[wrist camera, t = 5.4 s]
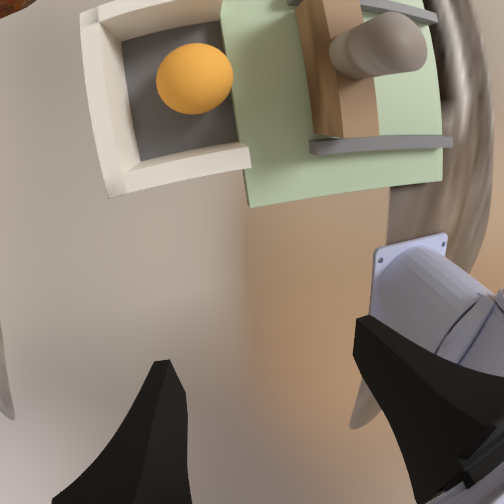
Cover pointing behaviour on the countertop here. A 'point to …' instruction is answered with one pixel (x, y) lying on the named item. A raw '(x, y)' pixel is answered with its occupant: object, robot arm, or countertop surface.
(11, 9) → the tin
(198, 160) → the pitch
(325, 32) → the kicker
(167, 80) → the ball
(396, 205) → the countertop surface
